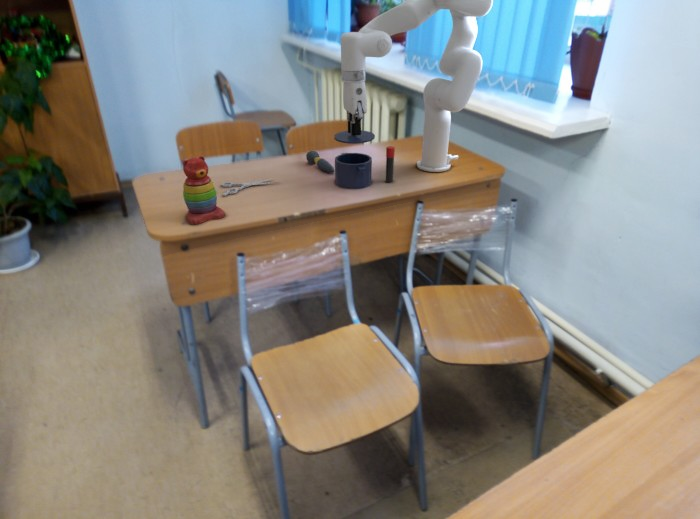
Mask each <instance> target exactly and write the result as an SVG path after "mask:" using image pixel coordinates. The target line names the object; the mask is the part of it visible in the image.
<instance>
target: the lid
mask: <svg viewBox="0 0 700 519" xmlns="http://www.w3.org/2000/svg"><path fill="white" fill-rule="evenodd" d="M351 123H352V120H351V121H350V131H351ZM375 138H376V134H375V133H374V132H371V131H368V130H363V129H361V135H356V136H352V134H351V133H348V130H343V131H339V132H337V133H335V134H334V135H333V140H334V141H336V142H339V143H342V144H350V145H353V144H354V145H355V144H356V145H357V144H364V143H369V142H372V141H374V140H375Z"/></svg>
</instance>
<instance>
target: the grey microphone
mask: <svg viewBox="0 0 700 519" xmlns="http://www.w3.org/2000/svg"><path fill="white" fill-rule="evenodd" d="M305 157H306V162H308V163H309V164H311V165H316V166H317V167H318V169H320V170H322V171H324V172H327V173H330V174H333V173H335V167H333V165H332V164H331V163H330V162H329V161H327V160H326V159H325V158H322V157H320V153H319V152H318V151H316V150H310V151H308V152H307V153H306V156H305Z"/></svg>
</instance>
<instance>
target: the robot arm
mask: <svg viewBox="0 0 700 519" xmlns="http://www.w3.org/2000/svg"><path fill="white" fill-rule="evenodd" d="M493 4H494V0H404V1H403V2H402V3H400V4H398V5H395V6H394V7H392V8H390V9H389V10H386V11H385V12H383V13H380V14H379V15H377V16H375V17H374V18H373V19H371V20H370V21H368V23H365V24H364V25H363V26H362V27H361V28H360V29H359V30H358V31H348V32H344V33H342V34H341V36H340V64H341V65H340V66H341V72H340V73H341V82H343V85H342V86H343V88H342V101H343V103H342V104H343V105H342V106H343V110H345V111H346V115H347V116H346V119H347V131H348V133H351V134H352V136H356V135H361V130H362V119H363V118H364V115H365V114H367V113H368V104H367V102H368V101H367V88H366V58H383V57H385V56H387V55H388V54H389V53H390V52H391V50H392V48H393V41H392V38H391V37H392V36H394V35H397V34H401V33H407V32H410V31H412V30H415V29H417V28H418V27H420V26H421V25H422V24H424V23H425V22H426V21H428V19H430V18H431V17H433V15H435V14H436V13H437V12H439V11H440V10H448V11H449V13H450V16H451V20H452V29H451V33H450V36H449V38H448V41H447V43H446V45H445V48H444V50H443V53H442V55H441V58H440V61H439V64H438V67H439V71H440V72H441V73H442V74H443V75H445V76H448V77H450V78H452V80H450V79H446V78H442V77H435V78H432V79H430V80H429V81H428V82H426V84H425V86H424V88H423V93H422V94H423V106H424V107H423V108H424V119H423V131H422V143H421V144H422V146H421V148H422V149H421V159H420V160H418V161H417V162H416V167H417V168H418V169H419V170H421V171H424V172H431V173H440V172H441V173H442V172H446V171H449V170H450V169H451V163H450V162H452V161H453V162H454V161H458V160H459V155H458V154H457V155H456V154H454V155H452V153H450V154H448V153H449V143H450V133H451V124H452V115H451V113H458V112H460V111H462V110H463V109H464V108H465V107H466V106H467V104H468V102H469V101H470V98H471V97H472V94H473V92H474V89H475V87H476V85H477V83H478V81H479V79H480V76H481V73H482V70H483V58H482V56H481V54H480V53H479V52H478V51H477V50H474V49H473V48H474V45H475V42H476V39H477V36H478V24H477V19H476V18H482V17H484V16H486V15H487V14H489V12H490V11H491V10H492V8H493ZM351 120H352V123H351V131H350V121H351Z"/></svg>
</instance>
